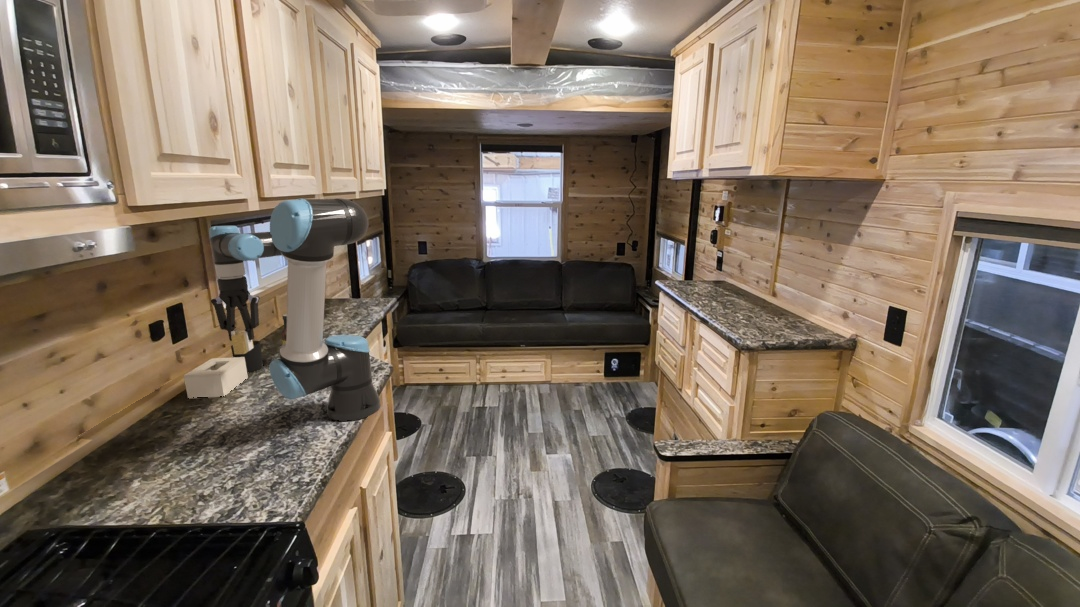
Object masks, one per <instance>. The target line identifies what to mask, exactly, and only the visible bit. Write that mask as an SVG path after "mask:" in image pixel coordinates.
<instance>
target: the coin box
mask: <svg viewBox="0 0 1080 607" xmlns="http://www.w3.org/2000/svg"><path fill="white" fill-rule="evenodd" d="M183 379H184V384H185V390H186V394H187V399H188V398H189V399H198V398H197V397H208V398H220V396H222V397H223V396H224V397H225V395H226V396H227V395H228V394H230V393H231V392H232V391H233V390H234V388H235V387H236V386H237V387H239V386H240V385H241V384H242V383H244V382H245V381H246V380H247V379H249V376H248V373H247V369H246V363H245V357H233V356H232V357H216V358H212V357H211V358H210V359H209V360H207V361H205V362H204V363H202V364H200V365H198V366H196V367H195V368H193V369H192V370H190V371H189V372H187V373H185V374H183ZM245 379H246V380H245ZM244 380H245V381H244ZM243 381H244V382H243ZM240 383H241V384H240ZM239 384H240V385H239ZM237 387H236V388H237ZM236 388H235V389H236ZM231 390H232V391H231ZM230 391H231V392H230ZM193 397H194V398H193ZM222 397H221V398H222Z"/></svg>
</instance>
